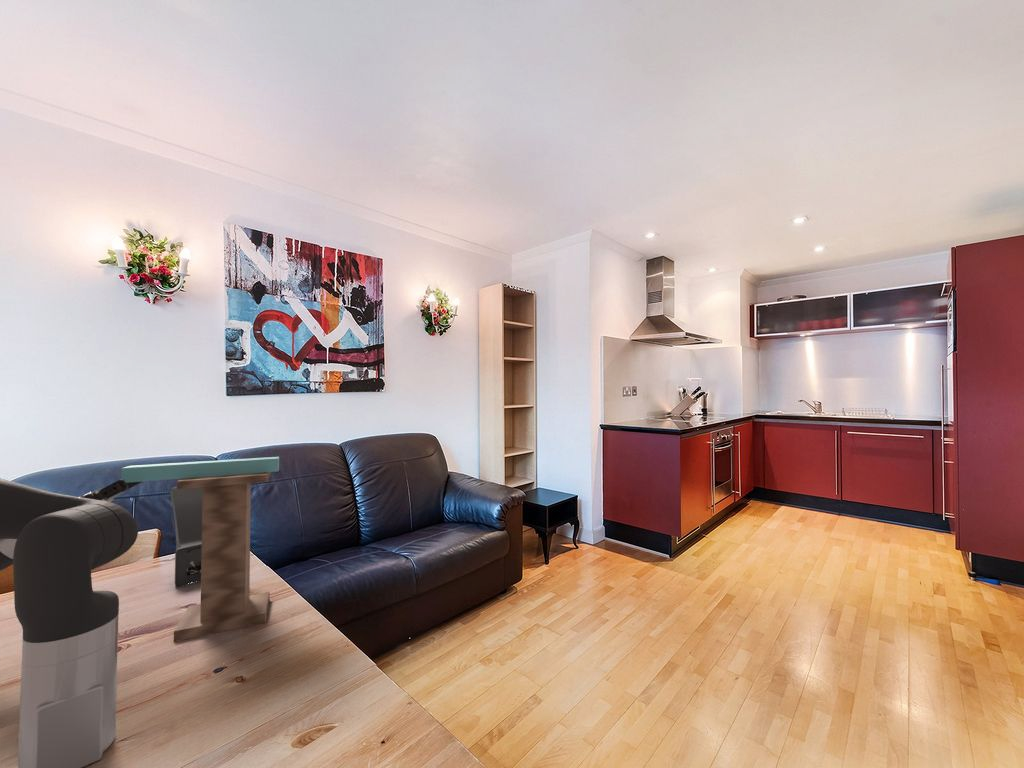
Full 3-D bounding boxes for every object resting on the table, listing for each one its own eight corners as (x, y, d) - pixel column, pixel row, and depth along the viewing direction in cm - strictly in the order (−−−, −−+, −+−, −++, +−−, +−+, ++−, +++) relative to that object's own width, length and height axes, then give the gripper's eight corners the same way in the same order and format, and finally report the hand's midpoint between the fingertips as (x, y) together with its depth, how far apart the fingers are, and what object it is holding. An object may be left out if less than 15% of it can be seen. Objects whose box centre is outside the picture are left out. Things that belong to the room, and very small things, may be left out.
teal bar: (121, 483, 86) (121, 468, 87) (128, 479, 90) (129, 465, 90) (278, 471, 99) (278, 458, 99) (279, 469, 102) (279, 456, 102)
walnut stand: (173, 641, 86) (177, 481, 87) (188, 615, 96) (191, 473, 98) (265, 622, 93) (266, 474, 94) (269, 600, 103) (270, 467, 105)
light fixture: (207, 561, 131) (209, 481, 132) (224, 575, 119) (225, 488, 120) (162, 571, 123) (164, 486, 124) (175, 588, 111) (177, 494, 112)
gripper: (2, 522, 75) (107, 469, 82) (46, 505, 88) (134, 461, 95) (30, 555, 77) (132, 501, 83) (70, 534, 89) (155, 488, 96)
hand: (133, 479), depth 89 cm, fingers open, 8 cm apart
